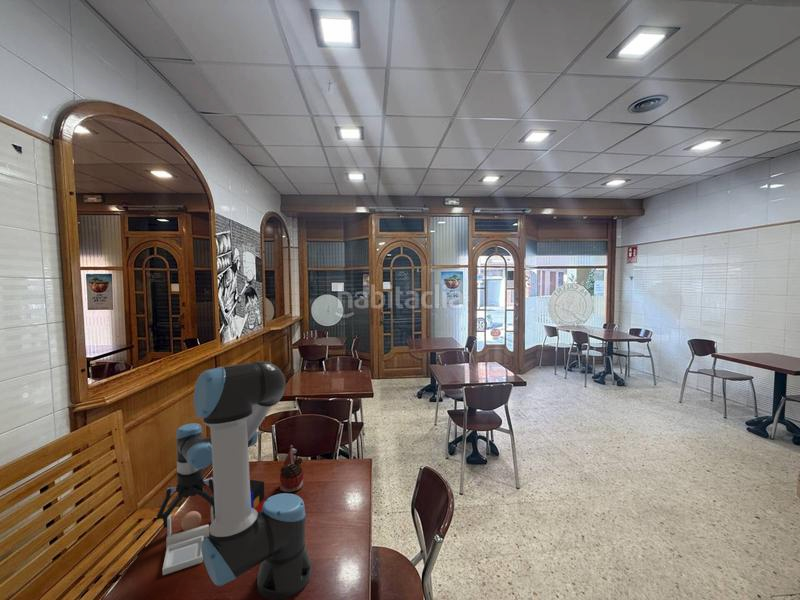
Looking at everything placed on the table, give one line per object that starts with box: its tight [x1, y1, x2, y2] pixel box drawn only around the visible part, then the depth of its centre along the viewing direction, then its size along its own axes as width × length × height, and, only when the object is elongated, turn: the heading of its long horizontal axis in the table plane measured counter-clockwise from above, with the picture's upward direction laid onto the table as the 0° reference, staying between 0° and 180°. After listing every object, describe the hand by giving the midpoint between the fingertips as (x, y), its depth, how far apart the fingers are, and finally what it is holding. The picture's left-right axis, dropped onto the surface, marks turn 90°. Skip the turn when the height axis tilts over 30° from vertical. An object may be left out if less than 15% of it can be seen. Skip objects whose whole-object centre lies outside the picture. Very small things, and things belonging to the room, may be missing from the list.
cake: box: [279, 444, 304, 493], centre depth 143 cm, size 11×9×18 cm
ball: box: [180, 510, 202, 531], centre depth 118 cm, size 6×6×6 cm
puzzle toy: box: [250, 479, 265, 513], centre depth 127 cm, size 10×10×10 cm
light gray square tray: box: [162, 535, 205, 576], centre depth 106 cm, size 10×10×2 cm
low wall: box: [165, 524, 210, 547], centre depth 113 cm, size 1×12×4 cm, turn 118°
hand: (191, 528), depth 118 cm, fingers open, 12 cm apart
